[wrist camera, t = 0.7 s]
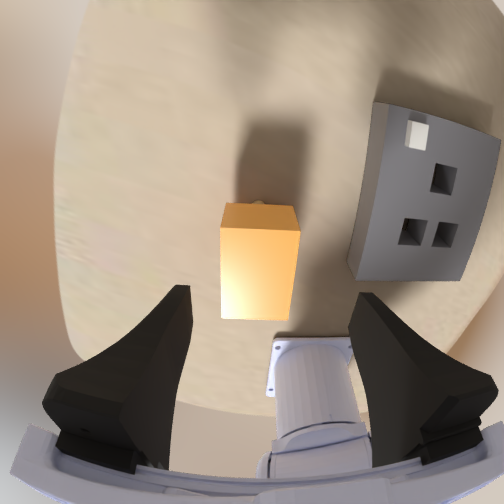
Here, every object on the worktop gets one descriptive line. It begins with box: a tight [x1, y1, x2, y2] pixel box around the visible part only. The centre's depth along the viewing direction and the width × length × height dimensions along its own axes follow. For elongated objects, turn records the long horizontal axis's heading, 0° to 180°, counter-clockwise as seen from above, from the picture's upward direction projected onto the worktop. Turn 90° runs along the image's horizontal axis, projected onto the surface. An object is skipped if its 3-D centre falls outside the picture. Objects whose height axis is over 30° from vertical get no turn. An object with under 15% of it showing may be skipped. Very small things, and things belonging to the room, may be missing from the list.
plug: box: [220, 200, 301, 320], centre depth 19 cm, size 6×4×6 cm, turn 177°
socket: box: [347, 102, 501, 281], centre depth 18 cm, size 12×10×3 cm
